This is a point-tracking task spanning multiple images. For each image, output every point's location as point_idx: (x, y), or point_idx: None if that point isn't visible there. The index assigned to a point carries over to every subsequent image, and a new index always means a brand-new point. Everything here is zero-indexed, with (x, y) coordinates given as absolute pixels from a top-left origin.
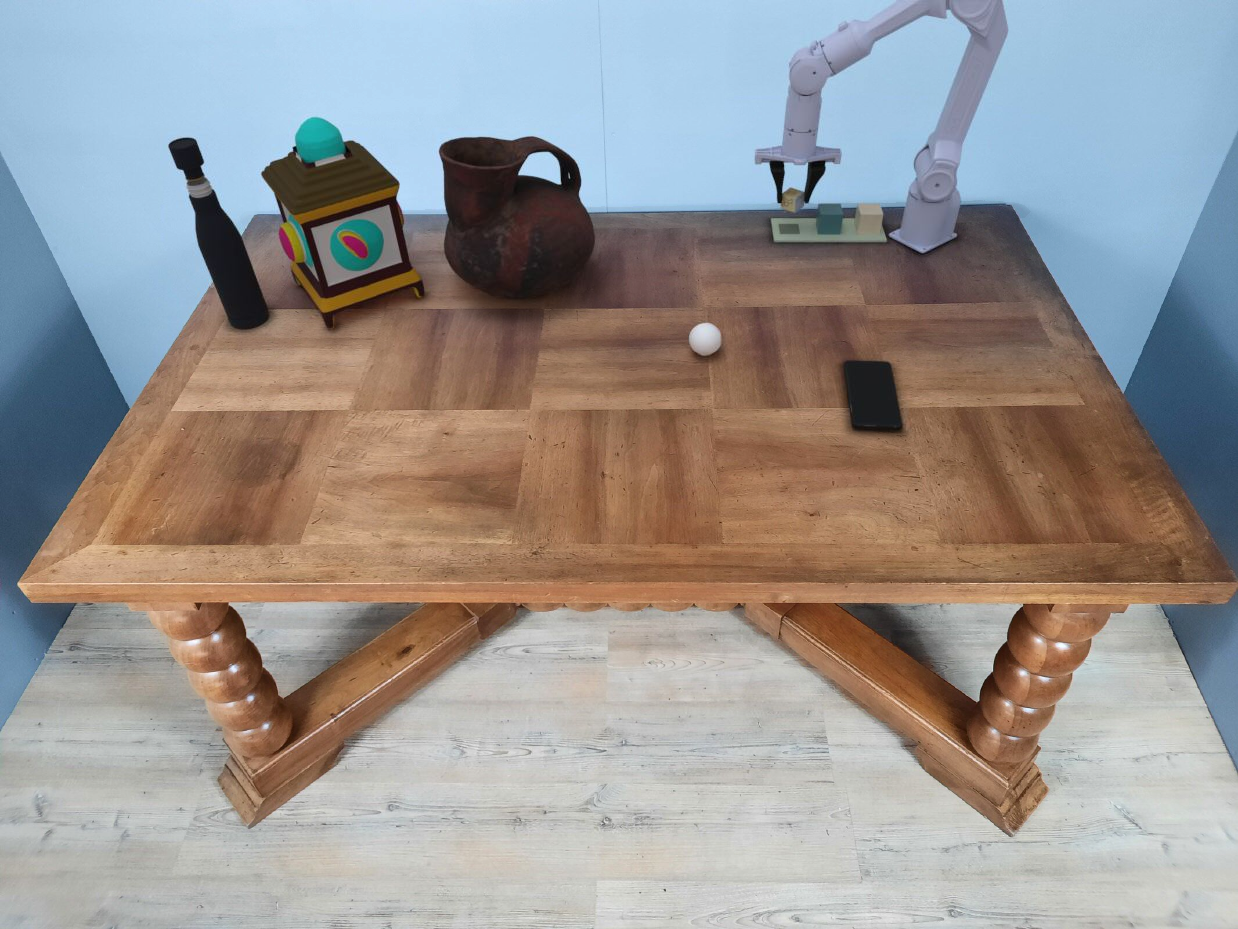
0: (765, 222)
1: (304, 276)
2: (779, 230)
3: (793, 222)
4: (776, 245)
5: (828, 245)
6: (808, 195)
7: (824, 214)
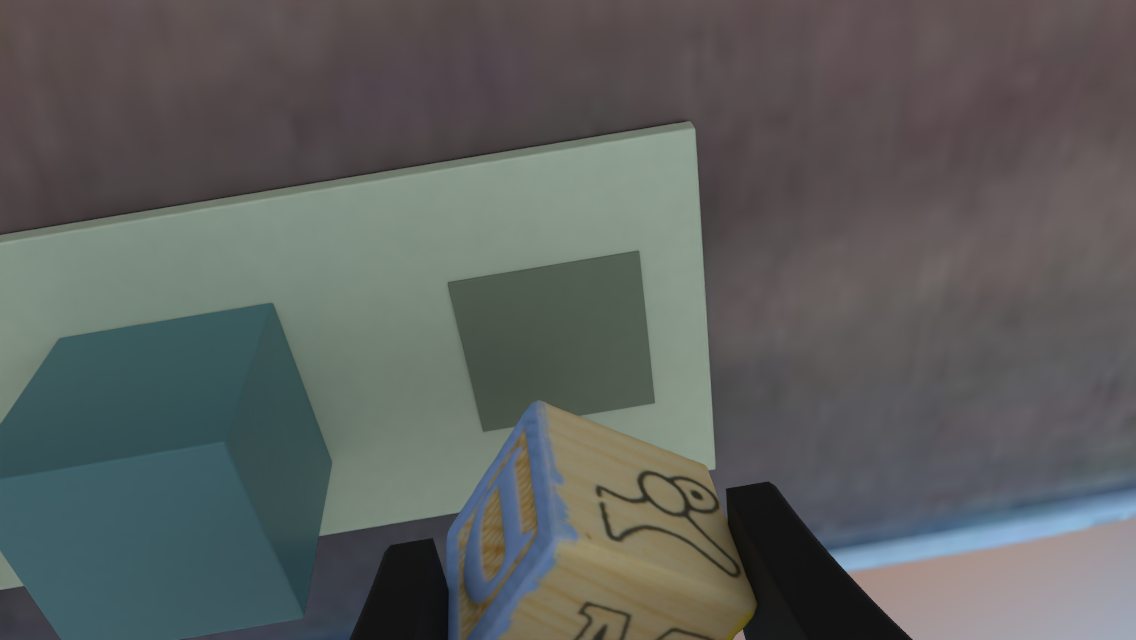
0: (756, 422)
1: None
2: (644, 307)
3: None
4: (666, 65)
5: (130, 153)
6: (388, 625)
7: (183, 450)
